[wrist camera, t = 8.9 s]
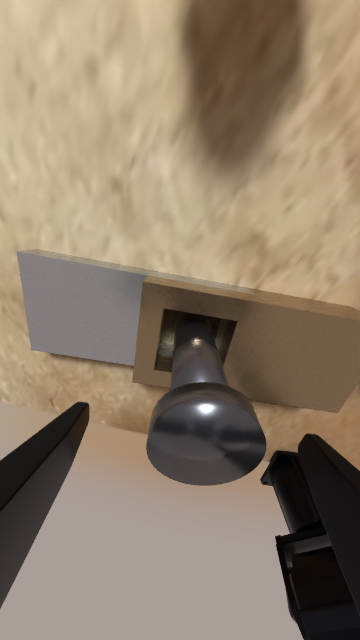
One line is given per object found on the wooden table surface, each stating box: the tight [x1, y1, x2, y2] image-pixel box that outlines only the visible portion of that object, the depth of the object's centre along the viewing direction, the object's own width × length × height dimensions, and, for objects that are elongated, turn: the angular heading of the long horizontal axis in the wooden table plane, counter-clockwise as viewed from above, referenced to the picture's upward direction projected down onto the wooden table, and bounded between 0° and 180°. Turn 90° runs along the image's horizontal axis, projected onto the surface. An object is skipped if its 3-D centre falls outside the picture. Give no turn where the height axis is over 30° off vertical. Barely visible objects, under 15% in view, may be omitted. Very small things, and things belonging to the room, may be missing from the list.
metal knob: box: [146, 312, 266, 485], centre depth 12 cm, size 4×4×11 cm
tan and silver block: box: [17, 249, 360, 413], centre depth 16 cm, size 8×26×4 cm, turn 80°
